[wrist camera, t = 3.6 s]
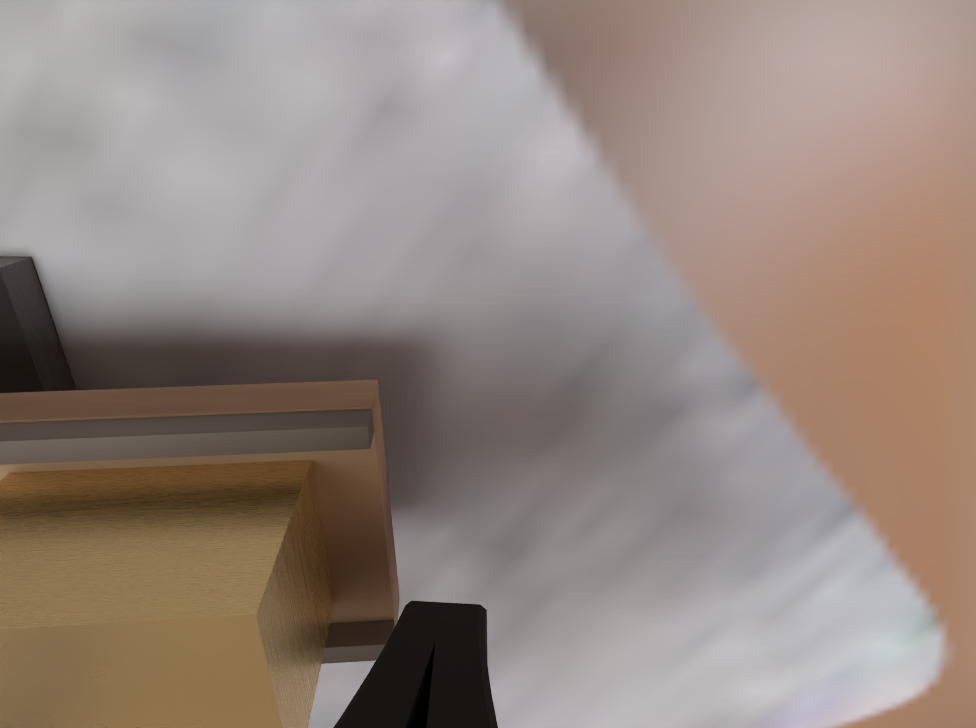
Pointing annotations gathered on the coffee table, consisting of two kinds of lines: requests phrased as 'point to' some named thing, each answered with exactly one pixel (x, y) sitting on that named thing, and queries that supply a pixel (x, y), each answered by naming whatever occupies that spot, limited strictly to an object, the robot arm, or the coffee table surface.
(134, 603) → the rider
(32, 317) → the grey metal bracket
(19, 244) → the coffee table surface
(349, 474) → the beam
